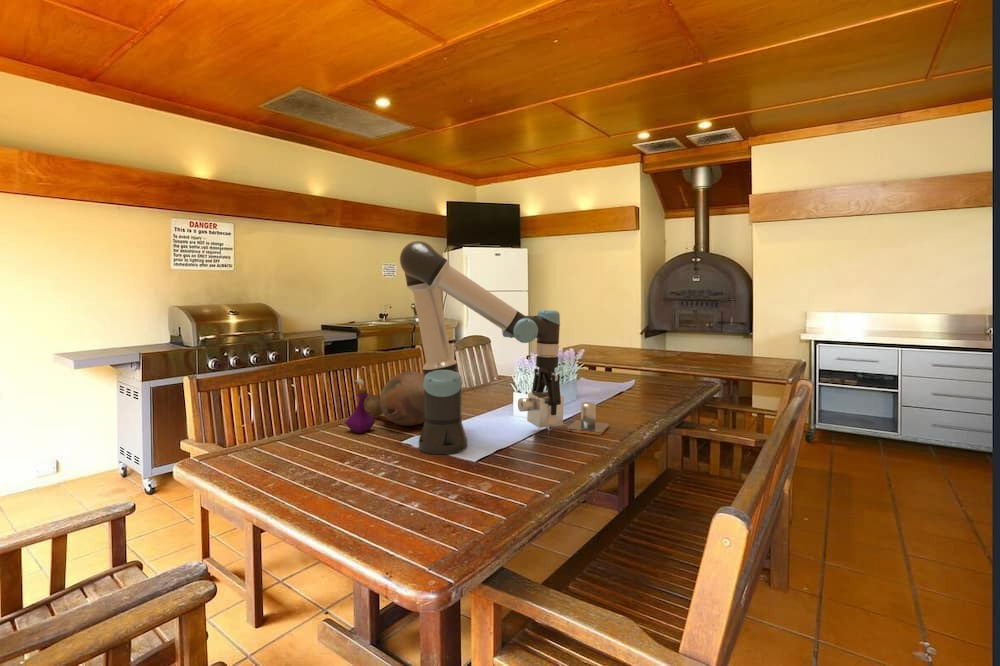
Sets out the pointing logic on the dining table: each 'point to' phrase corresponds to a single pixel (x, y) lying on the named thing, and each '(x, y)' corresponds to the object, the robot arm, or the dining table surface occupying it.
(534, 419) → the collar
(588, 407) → the duct stub
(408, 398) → the jug
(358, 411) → the perfume bottle
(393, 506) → the dining table surface
